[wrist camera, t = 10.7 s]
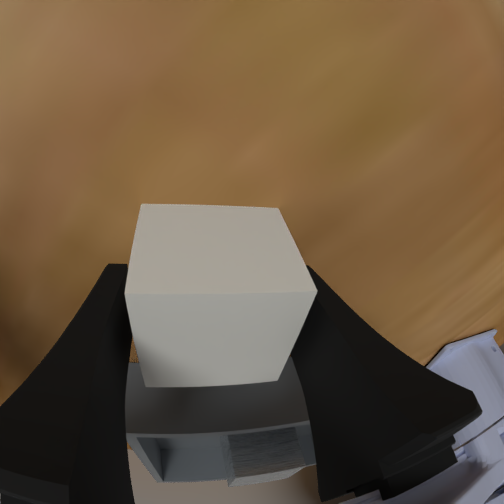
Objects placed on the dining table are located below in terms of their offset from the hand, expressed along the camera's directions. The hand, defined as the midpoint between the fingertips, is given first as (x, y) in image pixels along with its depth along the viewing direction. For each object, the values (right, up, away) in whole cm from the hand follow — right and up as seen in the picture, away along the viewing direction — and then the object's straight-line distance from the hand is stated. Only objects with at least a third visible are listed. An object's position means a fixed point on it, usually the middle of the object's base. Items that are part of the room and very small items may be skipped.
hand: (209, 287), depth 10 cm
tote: (+1, -11, +11) cm, 16 cm away
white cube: (0, +1, +1) cm, 2 cm away
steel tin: (+1, -11, +10) cm, 15 cm away
